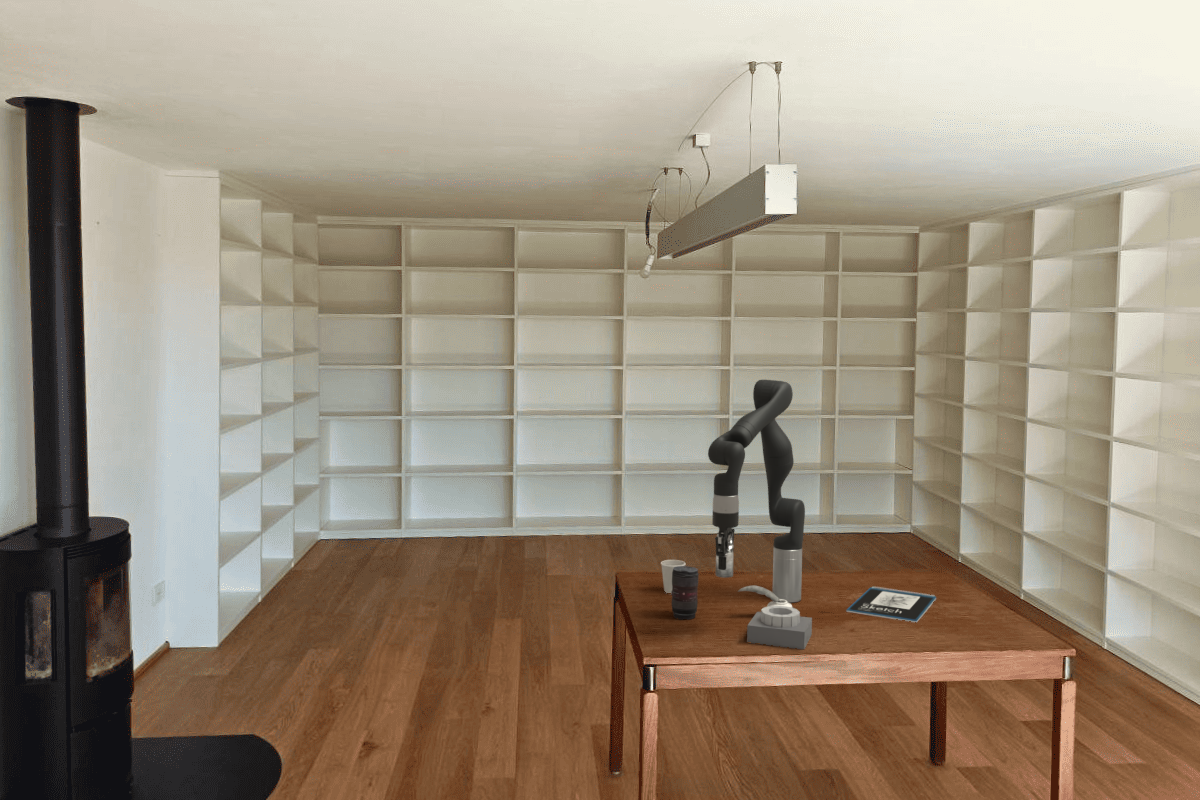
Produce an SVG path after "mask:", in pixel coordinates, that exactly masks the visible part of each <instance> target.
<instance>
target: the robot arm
mask: <svg viewBox="0 0 1200 800" xmlns="http://www.w3.org/2000/svg"><path fill="white" fill-rule="evenodd" d="M752 395H753V396H752V397H753V404H754V408H755V409H754V410H752V411H750V412H747V414H745V415H743V416H741V417H740V418H739V419H738V420H737V422H735V424H734V425H733V426H732V427H731V428H730V429H729V430H728V431H725V432H724V433H723V434H721V435H719V436H718V437H716V439H714V440H713V441H712V442H711V444H710V445H709V447H708V450H707V452H708V453H707V457H708V459H709V461H710V462H711V463H713V464H714V465H719V466H727V470H726V472H721V473H717V474H716V475H714V477H713V498H712V514H711V515H712V522H711V523H712V525H713V526H714V527H715V528H718V532H717V533H716V536H715V557H716V556H718V557H719V558H718V569H719V570H725V569H726V560H727V550H728V549H729V545H730V544H733V545H734V542H735V528H737V527H738V526H739V517H740V516H739V514H740V511H739V510H740V509H739V507H740V506H739V504H740V502H739V480H740V475H741V472H742V468H743V466H744V462H745V459H746V451H745V449H746V448H747V447H749V446H750V444H751V443H752V442H753V441H754V439H755V438H756V437H757V436H758V435H759V434H760V439H761V445H762V457H763V463H764V468H765V475H766V484H767V498H768V499H767V500H768V513H769V514H768V515H769V519H770V522H771V523H772V525H775V526H777V527H779V526H780V527H785V528H790V531H789V533H786V534H782V535H778V536H776V537H774V539H773V550H772V551H773V560H772V564H773V565H772V566H773V567H772V593H773V594H775V595H776V596H777V597H778V598H779V599H784V600H786V601H787V602H788V603H798V602H800V601H801V600H802V578H803V577H802V575H803V574H802V571H803V570H802V569H803V568H802V567H803V542H804V529H805V528H804V527H805V519H806V518H805V516H806V507H805V503H804V502H803V500H801V499H796V498H789V497H783V496H782V486H783V485H784V482H785V481H786V479H787V477H789V474H790V473H791V471H792V469H793V466H794V455H793V453H794V452H793V445H792V442H791V440H790V439H789V437H788V436H787V434H786V432H785V431H784V430H783V429H782V427H781V426H780V425H779V424H778V422H777V419H776V418H777V417H778V416H781V414H783V413H784V412H785V411H786V410H787V409H788V408H789V407H790V405H791V403H792V400H793V387H792V385H791V384H790V383H789V382H788V381H787V382H786V381H782V380H775V379H774V380H773V379H759V380H757V381H756V382H755V384H754V386H753V392H752ZM725 545H726V546H725ZM720 549H722V550H723V552H720Z"/></svg>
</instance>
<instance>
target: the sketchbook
mask: <svg viewBox="0 0 1200 800" xmlns="http://www.w3.org/2000/svg"><path fill="white" fill-rule="evenodd" d="M936 600H937V596H935V594H931V595H930V593H928V594H927V593H922V592H920V593H919V592H914V591H909V590H900V589H899V590H898V589H895V588H894V589H893V588H887V587H880V586H875V585H874V586H872V587H869V588H868V589H867V590H866V591H865V592H864V593H862V595H861V596H860V597H858V598H857V599H856V600H855V601H854V602H853V603H852V604H851V605H850V606H849V607H848V608H846V609H845V611H846V612H847V613H851V614H852V613H854V614H859V615H866V616H871V617H878V618H883V619H884V618H885V619H892V620H896V619H898V620H897V621H902V620H905V621H904V622H909V621H911V622H910V623H915V622H916V624H917V623H918V621H919V620H920V619H922V617H923V616H924V615H925V613H926V612H927V611H928V610H929V609H930V607H932V605H933V604H934V603H935V602H936ZM934 601H935V602H934ZM933 602H934V603H933Z"/></svg>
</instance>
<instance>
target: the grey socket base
mask: <svg viewBox="0 0 1200 800" xmlns="http://www.w3.org/2000/svg"><path fill="white" fill-rule="evenodd" d="M767 606H768V605H767ZM767 606H764V607H762V609H760V611H756V612H755V614H754V616H753V617H752V618H751V620H750V621H749V623H748V624H747V630H746V631H747V633H746V636H747V638H746V643H747V642H751V643H750V644H755V643H760V644H759V645H763V644H766V645H765V646H771V645H773V647H779V646H780V648H787V647H789V648H788V649H795V648H797V649H798V650H803V649H804V650H805V649H806V646H807V645H808V643H809V640H810V639H811V637H812V635H813V634H812V633H813V632H812V631H813V617H807V616H801V614H800V613H801V612H800V611H799V610H798V609H797V608H795V607H792V608H791V607H786V606H768V607H767ZM797 649H796V650H797Z"/></svg>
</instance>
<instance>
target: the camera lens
mask: <svg viewBox="0 0 1200 800" xmlns="http://www.w3.org/2000/svg"><path fill="white" fill-rule="evenodd" d="M698 587H699V569H698V568H696V567H695V566H688V565H685V566H677V567H674V568H673V571H672V592H671V594H670V595H671V611H672V613H673V617H674V618H675V619H677V618H678V619H677V620H683V619H687V620H692V619H694V618H695V617H696V613H697V612H698Z"/></svg>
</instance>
